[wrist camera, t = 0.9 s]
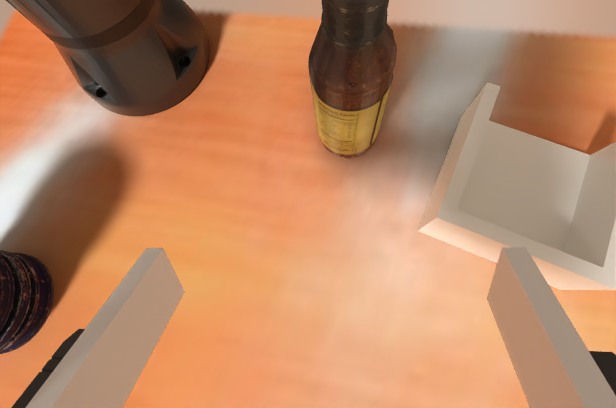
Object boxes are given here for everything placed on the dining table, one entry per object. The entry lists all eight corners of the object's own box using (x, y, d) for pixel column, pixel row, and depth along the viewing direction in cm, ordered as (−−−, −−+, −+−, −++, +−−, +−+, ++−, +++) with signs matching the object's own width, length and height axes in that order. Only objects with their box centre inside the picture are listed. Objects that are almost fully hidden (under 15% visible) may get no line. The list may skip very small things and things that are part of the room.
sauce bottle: (347, 97, 36) (367, -124, 17) (389, 134, 34) (462, -61, 15) (303, 135, 35) (270, -51, 16) (344, 175, 34) (361, 23, 14)
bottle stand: (560, 289, 29) (616, 289, 24) (417, 230, 32) (436, 217, 26) (595, 163, 32) (653, 135, 26) (460, 116, 34) (487, 81, 29)
